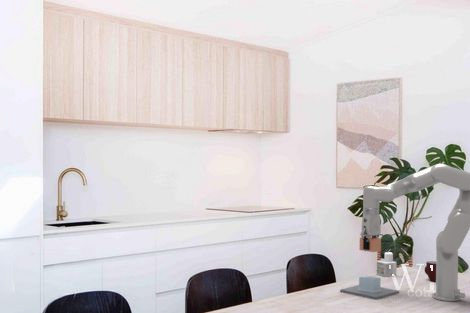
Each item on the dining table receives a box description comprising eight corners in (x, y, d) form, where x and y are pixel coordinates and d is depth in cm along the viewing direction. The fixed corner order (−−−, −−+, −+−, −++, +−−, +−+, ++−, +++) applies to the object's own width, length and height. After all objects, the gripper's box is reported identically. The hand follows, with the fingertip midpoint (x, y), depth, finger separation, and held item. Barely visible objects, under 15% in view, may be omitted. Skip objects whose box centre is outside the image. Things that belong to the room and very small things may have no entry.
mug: (419, 279, 316) (419, 261, 316) (428, 278, 321) (429, 259, 321) (435, 283, 308) (435, 264, 308) (445, 281, 312) (445, 263, 312)
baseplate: (399, 293, 284) (399, 290, 284) (376, 299, 270) (376, 296, 270) (363, 286, 298) (363, 283, 298) (340, 292, 284) (340, 289, 284)
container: (376, 274, 329) (376, 251, 329) (387, 273, 333) (387, 250, 333) (385, 277, 322) (385, 253, 322) (396, 276, 326) (397, 252, 326)
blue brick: (380, 290, 283) (380, 277, 283) (373, 292, 279) (373, 279, 279) (366, 287, 289) (366, 275, 289) (359, 289, 285) (359, 276, 285)
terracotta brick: (380, 250, 283) (380, 238, 283) (373, 252, 279) (373, 239, 279) (366, 248, 289) (367, 236, 289) (359, 250, 285) (359, 237, 285)
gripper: (367, 213, 275) (366, 251, 275) (387, 211, 287) (386, 248, 287) (354, 212, 281) (353, 249, 281) (374, 210, 293) (373, 246, 293)
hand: (370, 248), depth 284 cm, fingers closed on terracotta brick, 6 cm apart
